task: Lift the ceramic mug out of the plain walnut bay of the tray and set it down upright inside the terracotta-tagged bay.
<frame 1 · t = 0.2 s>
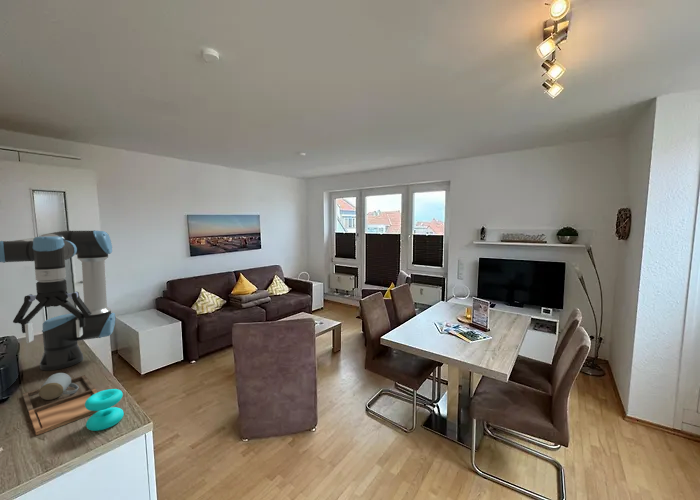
hand: (55, 338, 105), 27 cm above the counter, tool pointing down, fingers open, 13 cm apart
tray: (64, 402, 113), on the counter
donuts: (105, 423, 101), on the counter
ceramic mug: (60, 394, 118), resting in tray
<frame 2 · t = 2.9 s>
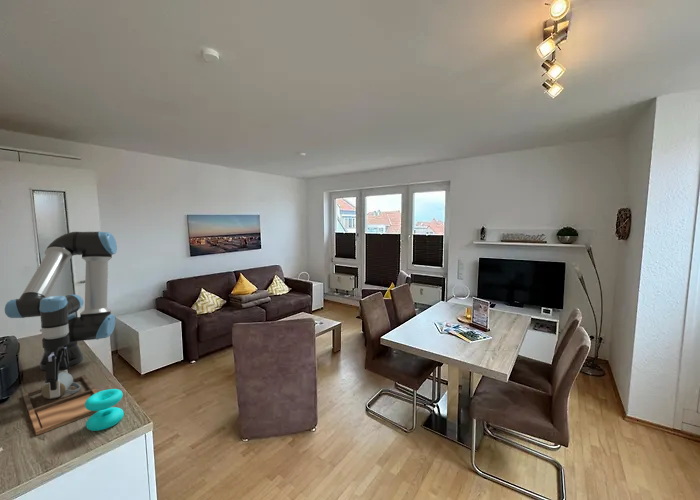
hand: (59, 391, 117), 1 cm above the counter, tool pointing down, fingers closed on ceramic mug, 8 cm apart
ceramic mug: (62, 394, 118), resting in tray, touching gripper
everything else where it was.
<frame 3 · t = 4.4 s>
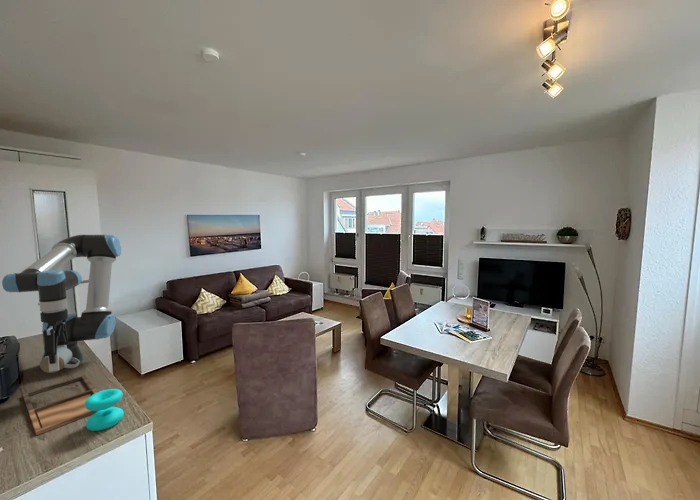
hand: (58, 365, 117), 12 cm above the counter, tool pointing down, fingers closed on ceramic mug, 8 cm apart
ceramic mug: (61, 368, 118), point 10 cm above the counter, touching gripper
everything else where it was.
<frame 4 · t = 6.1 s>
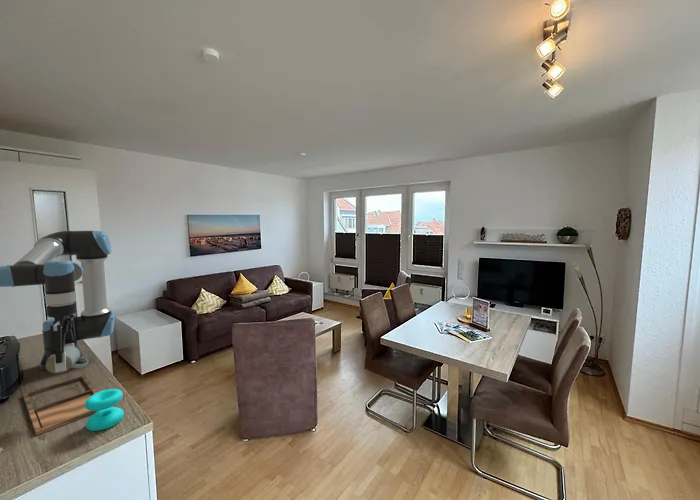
hand: (65, 365, 106), 17 cm above the counter, tool pointing down, fingers closed on ceramic mug, 8 cm apart
ceramic mug: (68, 369, 107), point 16 cm above the counter, touching gripper
everything else where it was.
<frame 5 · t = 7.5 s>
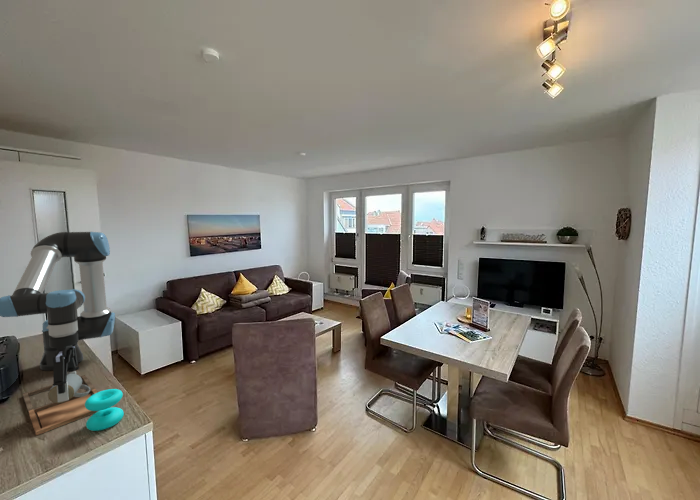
hand: (67, 394, 107), 6 cm above the counter, tool pointing down, fingers closed on ceramic mug, 8 cm apart
ceramic mug: (71, 397, 108), point 5 cm above the counter, touching gripper
everything else where it was.
when the fingers open (3 cm above the counter, at t = 9.0 s): ceramic mug moves 1 cm, resting on tray.
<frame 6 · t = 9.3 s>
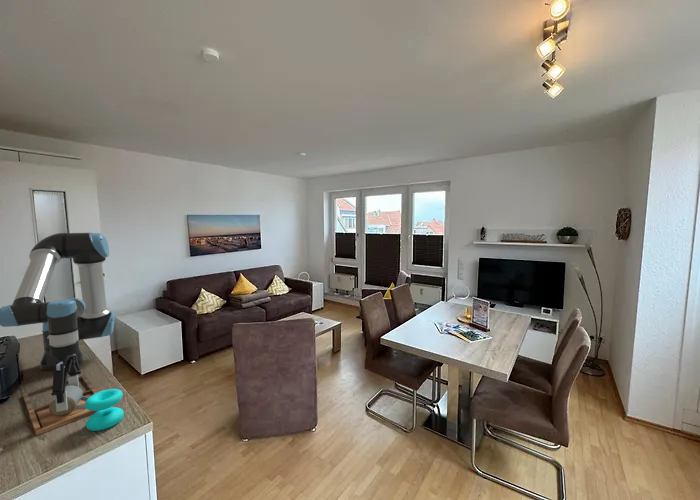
hand: (68, 401, 107), 4 cm above the counter, tool pointing down, fingers open, 11 cm apart
ceramic mug: (71, 409, 108), resting on tray
everything else where it was.
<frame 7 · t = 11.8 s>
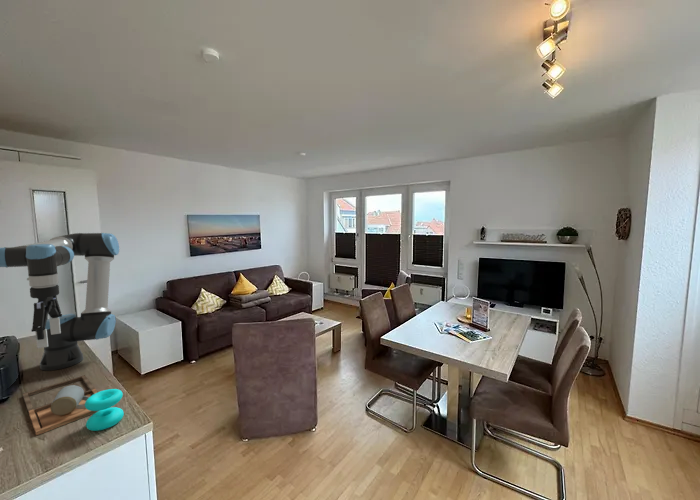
hand: (49, 340, 112), 24 cm above the counter, tool pointing down, fingers open, 13 cm apart
nothing on the counter moved.
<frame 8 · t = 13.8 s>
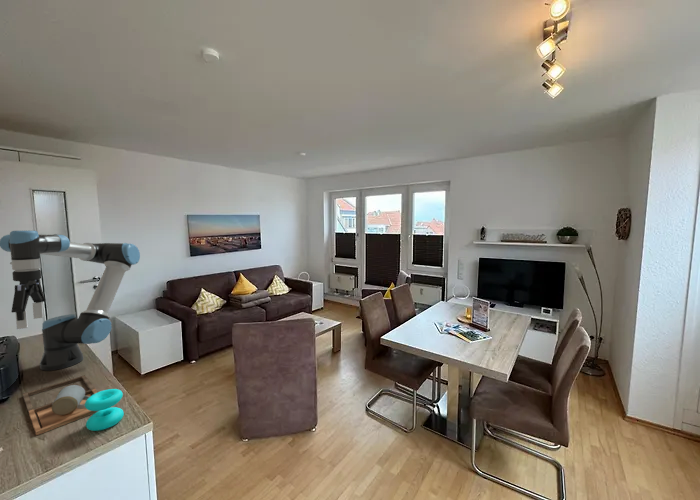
hand: (31, 323, 117), 29 cm above the counter, tool pointing down, fingers open, 13 cm apart
nothing on the counter moved.
at the end: ceramic mug 1.4 cm from the target spot on the tray, point 0.1 cm above the tray's base; ceramic mug tilted 1°; the gripper is holding nothing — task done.
